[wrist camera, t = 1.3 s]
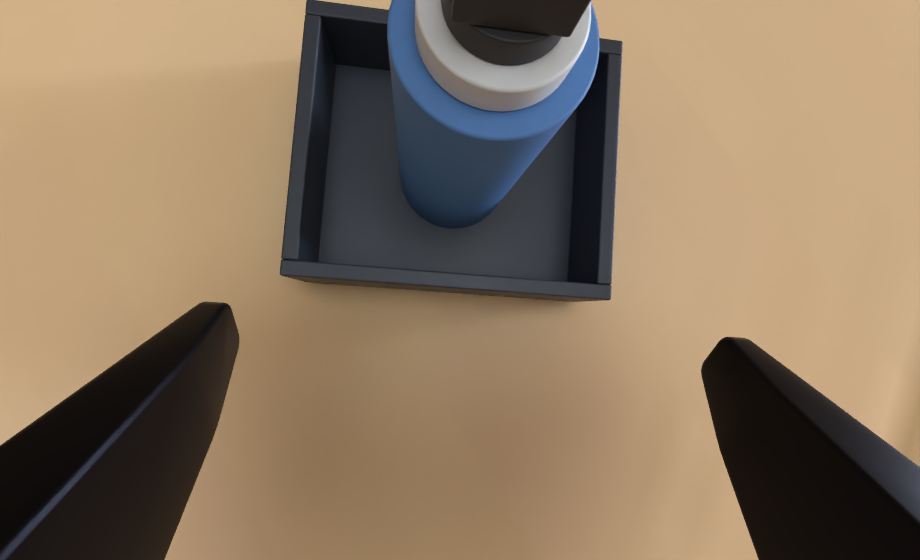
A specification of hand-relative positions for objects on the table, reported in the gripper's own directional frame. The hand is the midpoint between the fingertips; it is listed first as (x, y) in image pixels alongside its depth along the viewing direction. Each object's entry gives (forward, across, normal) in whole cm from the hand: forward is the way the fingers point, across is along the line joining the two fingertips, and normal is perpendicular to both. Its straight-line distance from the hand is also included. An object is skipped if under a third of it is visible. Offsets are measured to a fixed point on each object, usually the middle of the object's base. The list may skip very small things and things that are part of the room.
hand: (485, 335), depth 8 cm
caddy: (+14, 0, +4) cm, 14 cm away
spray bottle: (+13, 0, +4) cm, 14 cm away
